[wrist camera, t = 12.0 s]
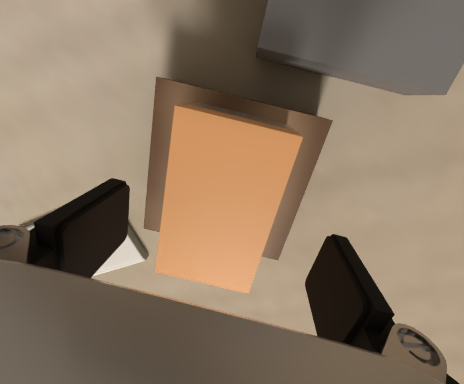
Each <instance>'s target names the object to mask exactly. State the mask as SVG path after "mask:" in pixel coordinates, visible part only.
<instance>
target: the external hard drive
mask: <svg viewBox="0 0 464 384" xmlns="http://www.w3.org/2000/svg"><path fill="white" fill-rule="evenodd" d="M25 228H26V229H27V230H31V229H33V228H34V224H33V225H30V226H28V227H25ZM148 256H149V255H148V254H147V252H146V251H145V249H144V248H143V246H142V245H141V243H140V241H139V240H138V238H137V237H136V235H135V234H134V232H133V231H132V229H131V227H130V226H129V224H128V234H127V237H126V239H125V241H124V242H123V243H122V244H121V245H120V246H119V248H118V249H117V250H116V251H115V252H114V253H113V254H112V255H111V256H110V257H109V258H108V260H107V261H106V262H105V263H104V264H103V265H102V266H101V267H100V268H99V269H98V270H97V272H96V273H95V274H94V275H93V276H95V275H99V274H102V273H105V272H109V271H112V270H115V269H119V268H122V267H126V266H129V265H132V264H135V263H139V262H142V261H145V260H146V259H147V258H148Z"/></svg>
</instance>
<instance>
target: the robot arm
mask: <svg viewBox="0 0 464 384" xmlns="http://www.w3.org/2000/svg"><path fill="white" fill-rule="evenodd" d="M129 192H130V187H129V186H128V185H127V184H126V182H125V181H122V180H118V179H114V178H111V179H109V180H108V181H106V182H104V183H102V184H100V185H99V186H97V187H95V188H93V189H92V190H90V191H88V192H86V193H85V194H83V195H81V196H79V197H78V198H76V199H74V200H72V201H71V202H69V203H67V204H65V205H63V206H62V207H60V208H58V209H56V210H55V211H53V212H51V213H49V214H48V215H46V216H44V217H42V218H41V219H39V220H37V221H35V222H34V228H33V229H31V230H27V229H26V228H24V227H21V226H15V225H4V226H0V384H459V383H458V382H457V381H455V380H454V379H453V378H452V377H450V376H449V375H448V374H447V364H446V360H445V358H444V356H443V354H442V353H441V351H440V350H439V349H438V348H437V346H436V345H435V344H434V343H433V342H432V341H431V340H430V339H429V338H427V337H426V336H425V335H424V334H422V333H421V332H419V331H418V330H416V329H415V328H413V327H410V326H408V325H406V324H400V323H398V324H395V323H394V321H393V320H392V317H393V316H394V315H395V314H394V313H393V311H392V309H391V308H390V306H389V305H388V303H387V301H386V300H385V298H384V297H383V295H382V293H381V292H380V290H379V289H378V287H377V285H376V284H375V282H374V281H373V279H372V277H371V276H370V274H369V273H368V271H367V269H366V268H365V266H364V264H363V263H362V261H361V260H360V258H359V256H358V255H357V253H356V252H355V250H354V248H353V247H352V245H351V244H350V242H349V240H348V239H347V238H346V237H343V236H339V235H335V234H332V235H331V236H327V237H326V239H325V241H324V243H323V245H322V247H321V249H320V251H319V253H318V256H317V258H316V260H315V262H314V264H313V266H312V268H311V270H310V272H309V274H308V276H307V278H306V282H305V287H306V291H307V295H308V300H309V304H310V308H311V312H312V316H313V320H314V324H315V328H316V332H317V336H314V335H310V334H307V333H303V332H299V331H295V330H291V329H287V328H284V327H280V326H276V325H272V324H268V323H265V322H261V321H257V320H253V319H249V318H246V317H242V316H238V315H234V314H230V313H226V312H222V311H218V310H215V309H211V308H207V307H203V306H199V305H195V304H191V303H187V302H183V301H179V300H175V299H172V298H168V297H164V296H160V295H156V294H152V293H148V292H144V291H140V290H136V289H132V288H128V287H124V286H120V285H116V284H112V283H108V282H104V281H100V280H96V279H92V278H91V277H92V276H93V275H94V274H95V273H96V272H97V270H98V269H99V268H100V267H101V266H102V265H103V264H104V263H105V262H106V261H107V260H108V258H109V257H110V256H111V255H112V254H113V253H114V252H115V251H116V250H117V249H118V248H119V246H120V245H121V244H122V243H123V242H124V241H125V239H126V237H127V234H128V214H129Z"/></svg>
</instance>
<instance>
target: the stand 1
mask: <svg viewBox="0 0 464 384" xmlns="http://www.w3.org/2000/svg"><path fill="white" fill-rule="evenodd" d="M193 103H204V104H208V105H212V106H216V107H220V108H224V109H229V110H233V111H237V112H241V113H245V114H249V115H253V116H257V117H261V118H265V119H269V120H273V121H277V122H281V123H285V124H288V125H289V126H290V127H291V128H293V129H294V130H295V131H296V132H298V133H299V134H300V135H301V136H303V139H302V142H301V145H300V148H299V151H298V153H297V156H296V159H295V162H294V165H293V168H292V171H291V173H290V176H289V179H288V182H287V185H286V188H285V191H284V193H283V196H282V199H281V202H280V205H279V208H278V210H277V213H276V216H275V219H274V222H273V225H272V228H271V230H270V233H269V236H268V239H267V242H266V245H265V248H264V250H263V253H262V257H267V258H271V259H275V260H278V259H279V257H280V254H281V251H282V249H283V246H284V244H285V241H286V239H287V236H288V234H289V231H290V228H291V226H292V223H293V221H294V218H295V216H296V213H297V211H298V208H299V206H300V203H301V200H302V198H303V195H304V193H305V190H306V188H307V185H308V183H309V180H310V177H311V175H312V172H313V170H314V167H315V165H316V162H317V160H318V157H319V154H320V152H321V149H322V147H323V144H324V142H325V139H326V137H327V134H328V131H329V129H330V126H331V124H332V120H329V119H325V118H322V117H319V116H315V115H311V114H307V113H303V112H299V111H295V110H291V109H287V108H283V107H279V106H275V105H271V104H267V103H263V102H259V101H255V100H251V99H247V98H243V97H239V96H235V95H231V94H227V93H223V92H219V91H215V90H211V89H207V88H203V87H199V86H195V85H191V84H187V83H183V82H179V81H174V80H169V79H165V78H160V77H156V86H155V98H154V110H153V122H152V134H151V146H150V158H149V170H148V182H147V195H146V207H145V219H144V228H145V229H149V230H153V231H157V232H160V226H161V218H162V209H163V201H164V192H165V184H166V175H167V167H168V158H169V150H170V141H171V133H172V124H173V116H174V107H175V105H181V104H193Z"/></svg>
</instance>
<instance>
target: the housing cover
mask: <svg viewBox="0 0 464 384" xmlns="http://www.w3.org/2000/svg"><path fill="white" fill-rule="evenodd" d="M302 139H303V136H301V135H300V134H299V133H298V132H296V131H294V130H290V129H286V128H282V127H278V126H274V125H270V124H266V123H262V122H258V121H254V120H250V119H246V118H242V117H238V116H234V115H230V114H225V113H221V112H217V111H213V110H209V109H205V108H201V107H197V106H193V105H189V104H181V105H175V107H174V116H173V124H172V133H171V141H170V150H169V158H168V167H167V175H166V184H165V192H164V201H163V209H162V218H161V226H160V235H159V243H158V252H157V260H156V269H155V272H158V273H162V274H166V275H170V276H175V277H179V278H183V279H187V280H192V281H196V282H200V283H204V284H209V285H213V286H217V287H221V288H226V289H230V290H234V291H238V292H243V293H247V294H248V293H249V290H250V287H251V285H252V282H253V279H254V276H255V273H256V270H257V267H258V265H259V262H260V259H261V256H262V253H263V250H264V248H265V245H266V242H267V239H268V236H269V233H270V230H271V228H272V225H273V222H274V219H275V216H276V213H277V210H278V208H279V205H280V202H281V199H282V196H283V193H284V191H285V188H286V185H287V182H288V179H289V176H290V173H291V171H292V168H293V165H294V162H295V159H296V156H297V153H298V151H299V148H300V145H301V142H302Z"/></svg>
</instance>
